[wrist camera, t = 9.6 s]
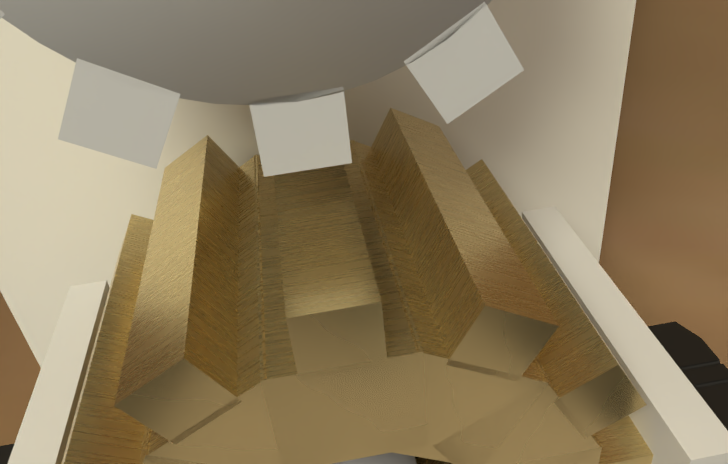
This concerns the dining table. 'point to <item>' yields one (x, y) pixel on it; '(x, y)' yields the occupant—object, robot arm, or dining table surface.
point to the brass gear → (346, 322)
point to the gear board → (284, 110)
